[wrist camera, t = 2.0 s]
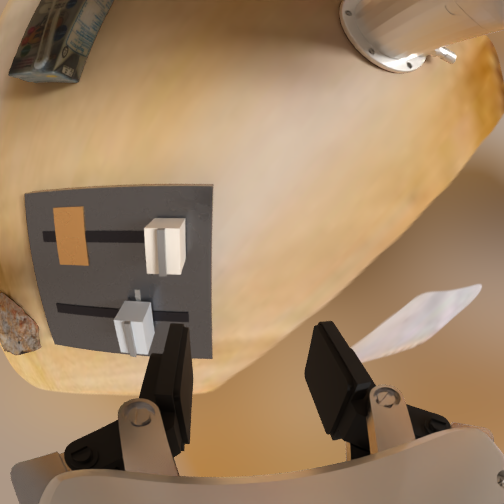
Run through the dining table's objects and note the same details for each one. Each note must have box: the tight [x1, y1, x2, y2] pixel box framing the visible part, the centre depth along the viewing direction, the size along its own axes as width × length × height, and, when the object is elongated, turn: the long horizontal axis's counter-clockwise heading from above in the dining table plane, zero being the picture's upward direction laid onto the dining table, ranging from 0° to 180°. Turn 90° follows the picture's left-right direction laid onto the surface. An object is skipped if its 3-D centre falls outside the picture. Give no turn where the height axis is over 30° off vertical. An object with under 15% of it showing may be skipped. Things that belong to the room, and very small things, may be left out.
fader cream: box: [144, 218, 186, 277], centre depth 24 cm, size 3×4×4 cm
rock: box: [0, 293, 41, 355], centre depth 28 cm, size 9×6×10 cm
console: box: [25, 184, 213, 359], centre depth 28 cm, size 22×20×2 cm
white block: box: [114, 301, 155, 357], centre depth 27 cm, size 3×4×4 cm
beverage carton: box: [8, 0, 114, 83], centre depth 16 cm, size 8×19×7 cm, turn 164°
